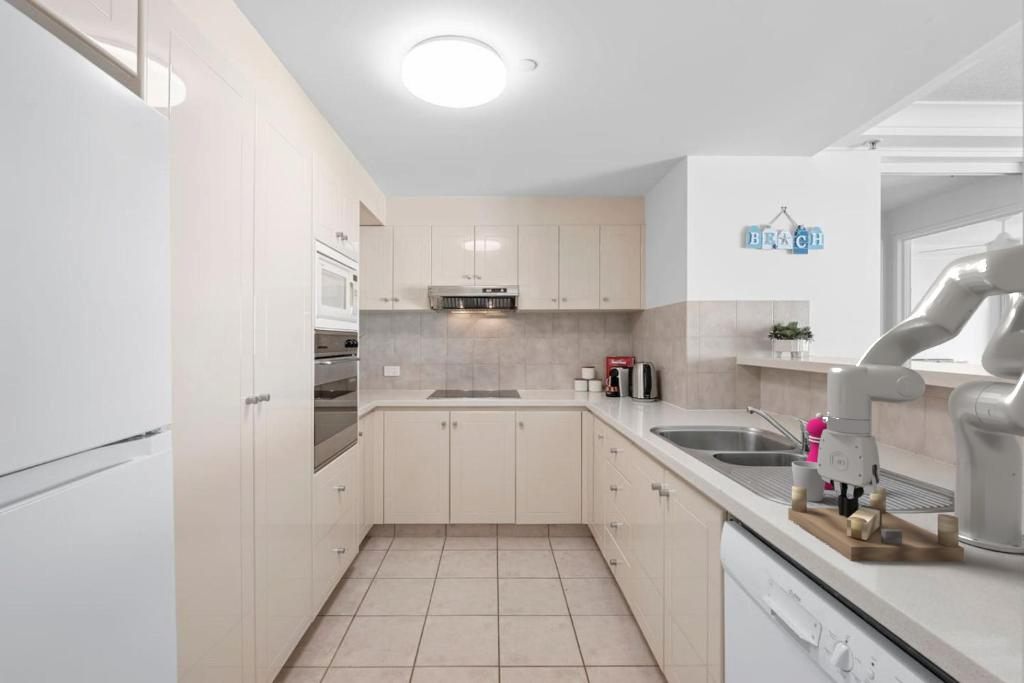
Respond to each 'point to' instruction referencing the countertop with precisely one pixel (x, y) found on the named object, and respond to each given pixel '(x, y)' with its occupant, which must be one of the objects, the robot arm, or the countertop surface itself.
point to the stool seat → (879, 533)
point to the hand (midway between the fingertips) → (848, 515)
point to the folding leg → (864, 522)
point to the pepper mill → (816, 440)
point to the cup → (808, 479)
